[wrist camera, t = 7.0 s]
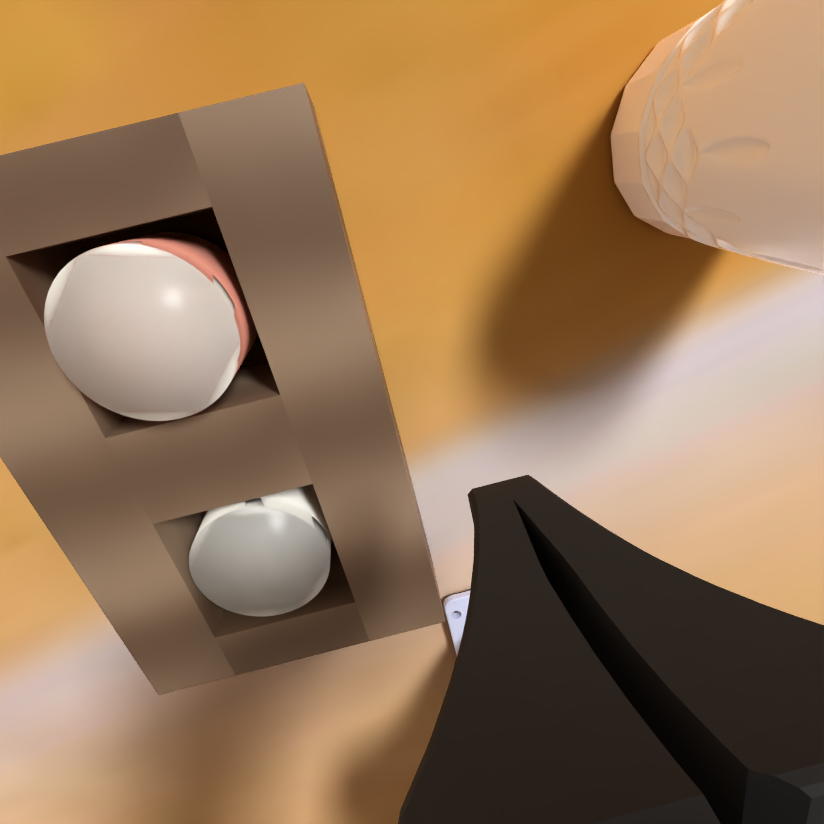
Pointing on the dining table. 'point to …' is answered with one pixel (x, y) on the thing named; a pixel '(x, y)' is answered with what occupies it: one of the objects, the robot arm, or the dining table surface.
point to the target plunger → (150, 325)
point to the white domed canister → (263, 553)
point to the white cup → (731, 132)
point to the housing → (232, 412)
